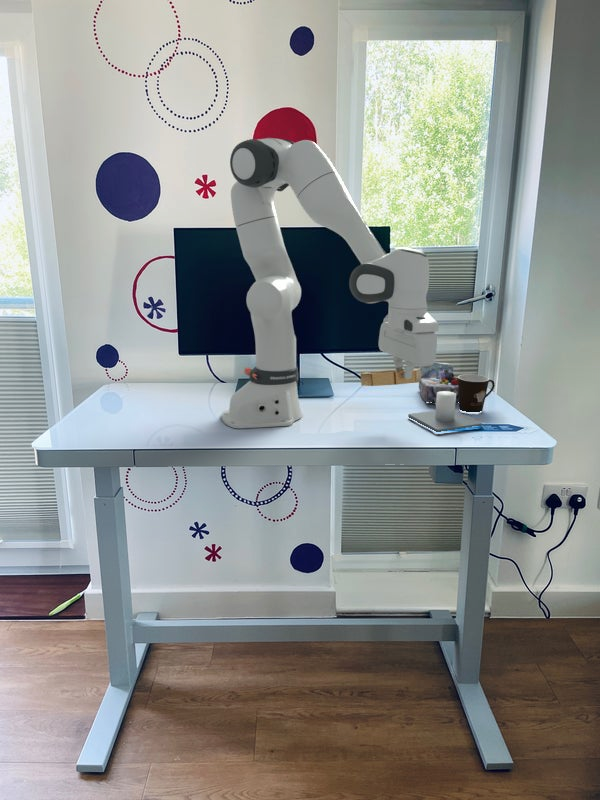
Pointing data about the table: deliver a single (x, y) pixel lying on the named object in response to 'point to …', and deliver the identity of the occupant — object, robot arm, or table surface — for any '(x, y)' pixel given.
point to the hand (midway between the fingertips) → (403, 376)
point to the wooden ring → (388, 378)
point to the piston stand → (444, 415)
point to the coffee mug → (473, 392)
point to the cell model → (437, 381)
